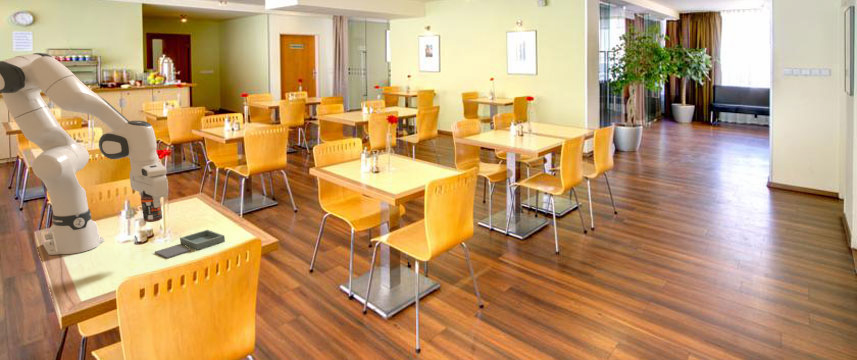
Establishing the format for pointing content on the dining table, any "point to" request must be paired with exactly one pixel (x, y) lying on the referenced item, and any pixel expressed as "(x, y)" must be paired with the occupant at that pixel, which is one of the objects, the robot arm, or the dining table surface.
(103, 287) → the dining table surface
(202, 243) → the tray
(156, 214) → the supplement bottle
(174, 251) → the mat
